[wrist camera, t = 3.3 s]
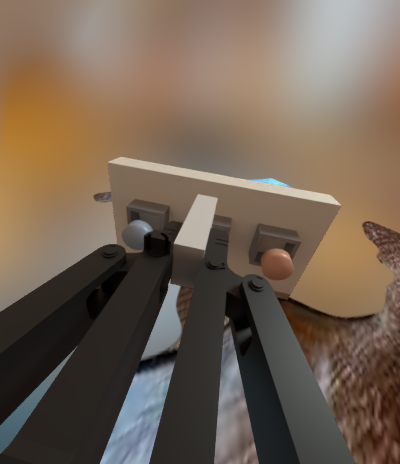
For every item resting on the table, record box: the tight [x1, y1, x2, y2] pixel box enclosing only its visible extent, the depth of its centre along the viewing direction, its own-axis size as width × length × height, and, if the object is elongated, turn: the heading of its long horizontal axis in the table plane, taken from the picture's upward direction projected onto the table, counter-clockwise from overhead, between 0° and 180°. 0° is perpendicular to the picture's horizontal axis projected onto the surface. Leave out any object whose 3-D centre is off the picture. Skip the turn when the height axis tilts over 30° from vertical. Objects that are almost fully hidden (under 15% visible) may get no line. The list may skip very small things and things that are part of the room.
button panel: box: [108, 157, 341, 300], centre depth 36 cm, size 11×34×20 cm, turn 80°
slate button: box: [122, 220, 153, 250], centre depth 28 cm, size 2×4×4 cm, turn 80°
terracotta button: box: [261, 249, 294, 280], centre depth 27 cm, size 2×4×4 cm, turn 80°
